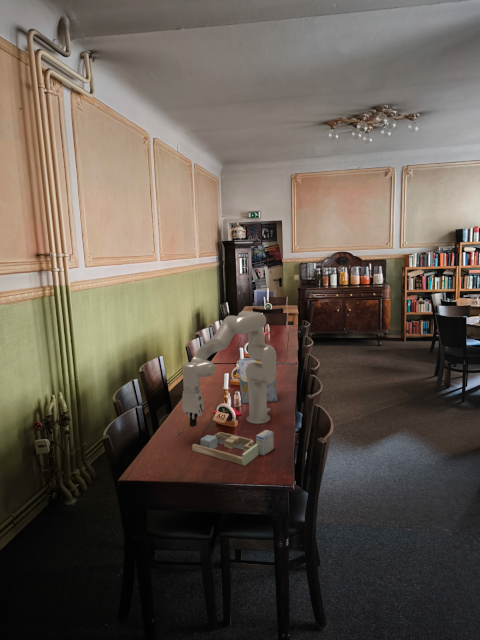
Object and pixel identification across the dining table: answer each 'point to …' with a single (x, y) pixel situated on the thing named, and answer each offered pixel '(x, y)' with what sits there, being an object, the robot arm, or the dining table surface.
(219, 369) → the dining table surface
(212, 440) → the slate block
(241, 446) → the pads
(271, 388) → the lunch bag
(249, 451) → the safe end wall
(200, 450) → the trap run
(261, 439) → the medicine box
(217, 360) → the dining table surface
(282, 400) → the dining table surface
